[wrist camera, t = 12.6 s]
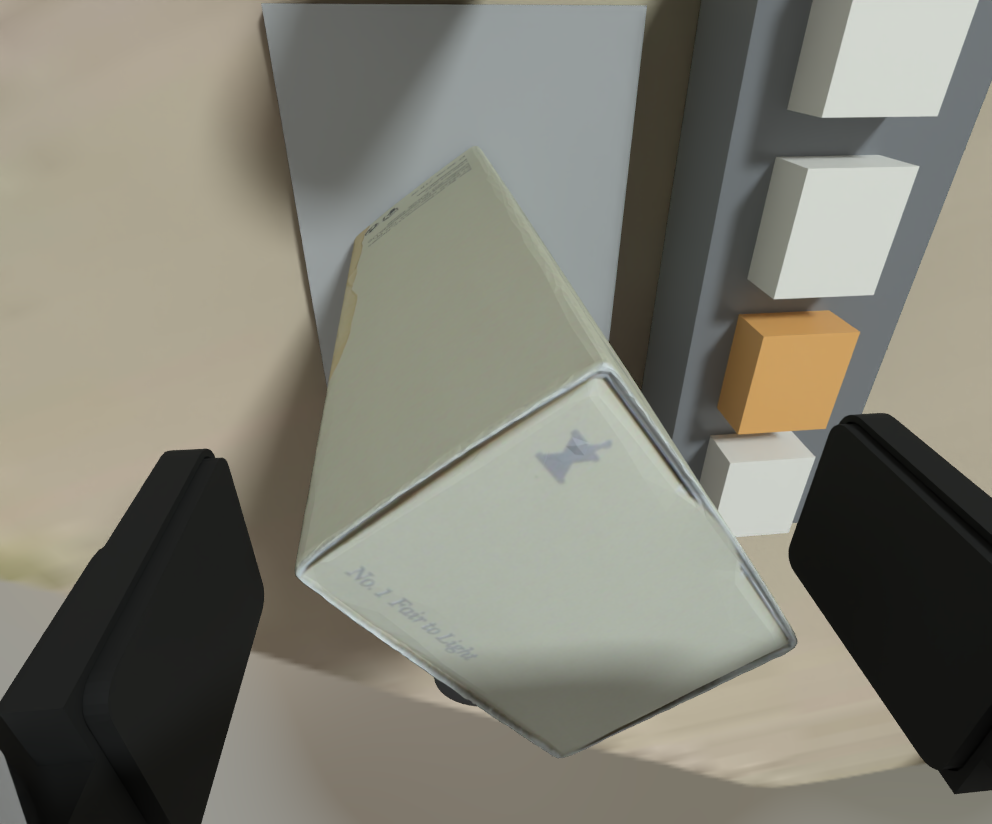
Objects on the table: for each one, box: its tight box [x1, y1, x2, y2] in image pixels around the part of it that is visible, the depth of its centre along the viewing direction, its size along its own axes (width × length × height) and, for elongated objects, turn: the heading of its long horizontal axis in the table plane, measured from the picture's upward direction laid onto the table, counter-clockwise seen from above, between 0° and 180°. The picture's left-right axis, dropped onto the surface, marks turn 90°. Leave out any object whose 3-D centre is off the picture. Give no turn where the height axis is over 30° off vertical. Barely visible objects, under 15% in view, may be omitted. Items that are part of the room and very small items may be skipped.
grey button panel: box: [261, 0, 992, 537], centre depth 17 cm, size 16×17×4 cm
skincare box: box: [295, 146, 797, 758], centre depth 13 cm, size 6×4×12 cm
